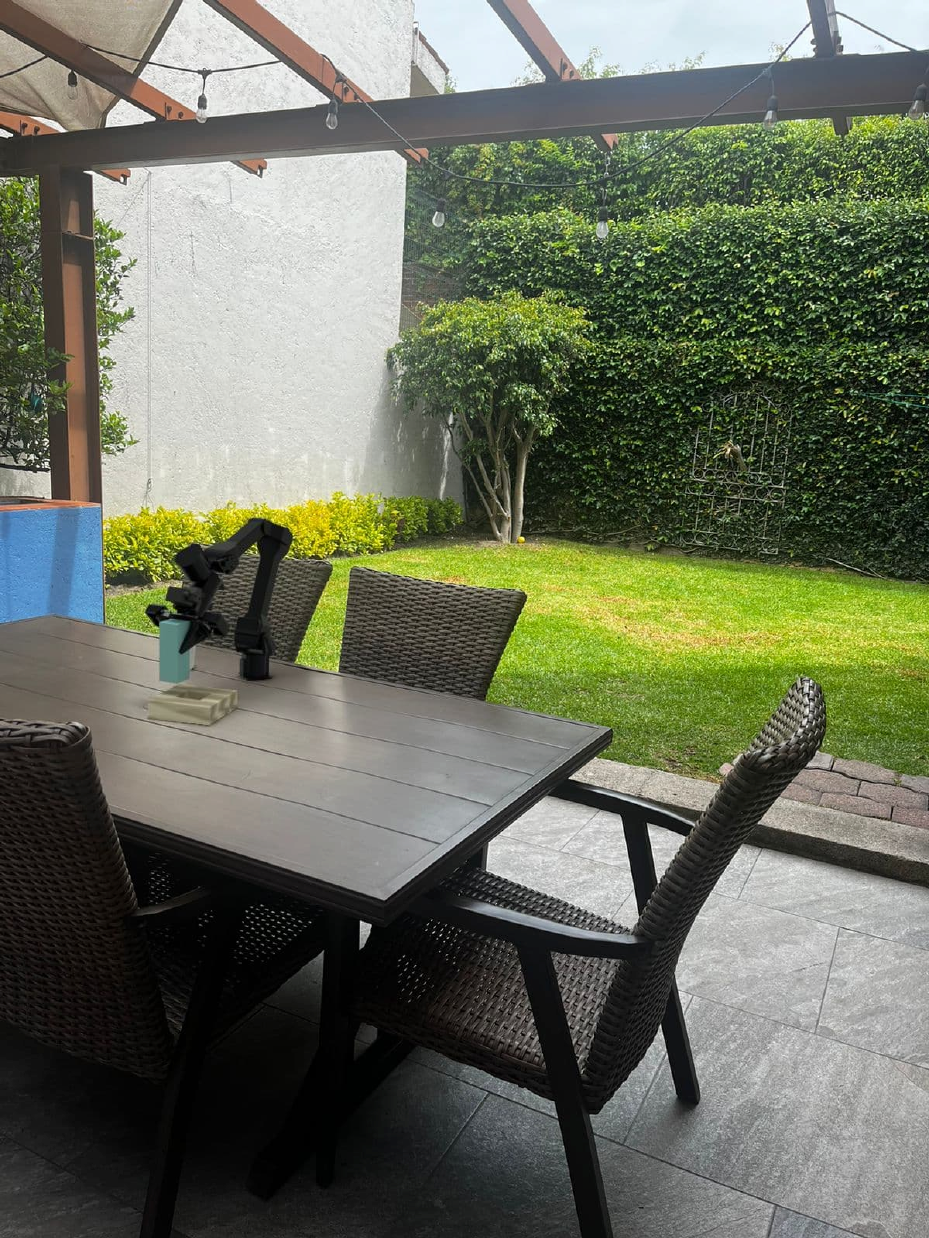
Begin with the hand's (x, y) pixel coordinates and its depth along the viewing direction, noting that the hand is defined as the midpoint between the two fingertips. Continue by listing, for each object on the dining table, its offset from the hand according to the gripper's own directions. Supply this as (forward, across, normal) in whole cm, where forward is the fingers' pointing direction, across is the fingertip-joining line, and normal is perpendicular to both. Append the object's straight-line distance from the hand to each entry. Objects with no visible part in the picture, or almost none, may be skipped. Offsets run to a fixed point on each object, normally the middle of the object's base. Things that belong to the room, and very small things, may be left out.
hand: (170, 651), depth 197 cm
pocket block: (+8, +5, +11) cm, 14 cm away
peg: (+4, 0, +6) cm, 7 cm away
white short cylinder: (-13, -19, +32) cm, 40 cm away
